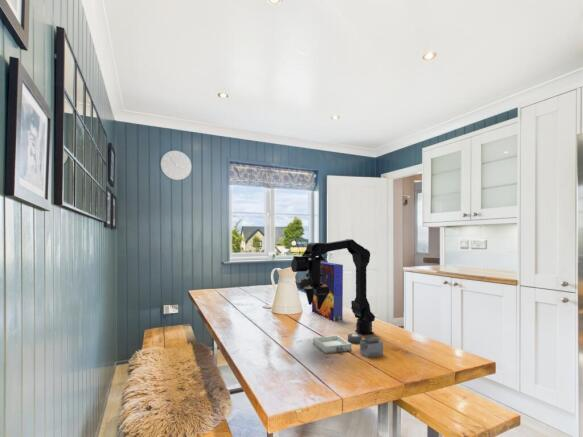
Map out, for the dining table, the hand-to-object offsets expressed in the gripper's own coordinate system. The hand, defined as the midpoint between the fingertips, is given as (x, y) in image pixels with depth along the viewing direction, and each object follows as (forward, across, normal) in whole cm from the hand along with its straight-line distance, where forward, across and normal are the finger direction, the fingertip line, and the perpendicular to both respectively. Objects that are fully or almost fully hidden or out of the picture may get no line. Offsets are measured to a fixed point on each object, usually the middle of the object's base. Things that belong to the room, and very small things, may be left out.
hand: (314, 306), depth 142 cm
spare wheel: (+14, +7, +16) cm, 23 cm away
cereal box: (+15, -35, +24) cm, 45 cm away
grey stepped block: (+14, +22, +14) cm, 30 cm away
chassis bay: (+14, +10, +3) cm, 18 cm away
